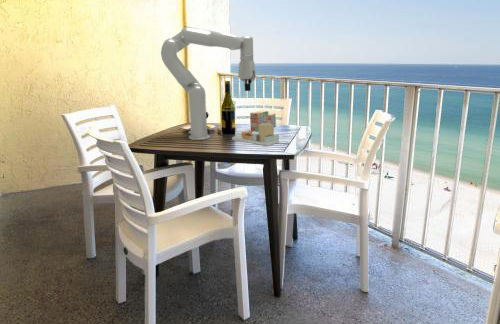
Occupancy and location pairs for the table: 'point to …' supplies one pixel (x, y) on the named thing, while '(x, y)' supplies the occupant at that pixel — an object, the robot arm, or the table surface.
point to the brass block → (265, 130)
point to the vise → (267, 140)
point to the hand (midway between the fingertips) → (247, 90)
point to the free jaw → (249, 133)
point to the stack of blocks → (261, 119)
